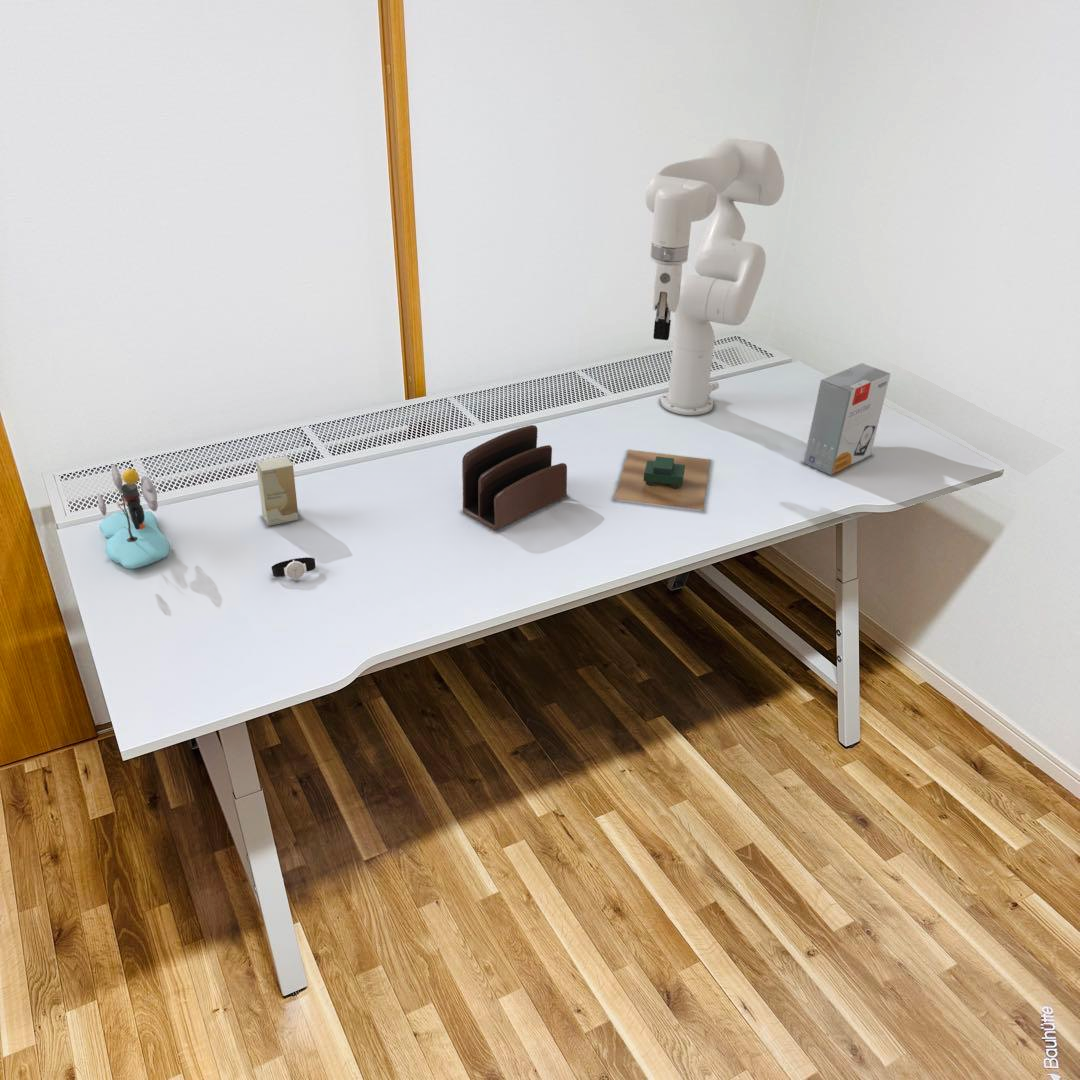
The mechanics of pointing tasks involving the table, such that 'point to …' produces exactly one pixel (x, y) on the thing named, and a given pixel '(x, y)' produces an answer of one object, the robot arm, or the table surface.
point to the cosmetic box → (277, 490)
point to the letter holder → (510, 478)
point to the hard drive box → (846, 418)
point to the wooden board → (660, 493)
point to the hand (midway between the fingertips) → (661, 338)
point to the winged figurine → (133, 524)
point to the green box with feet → (664, 472)
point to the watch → (293, 567)
